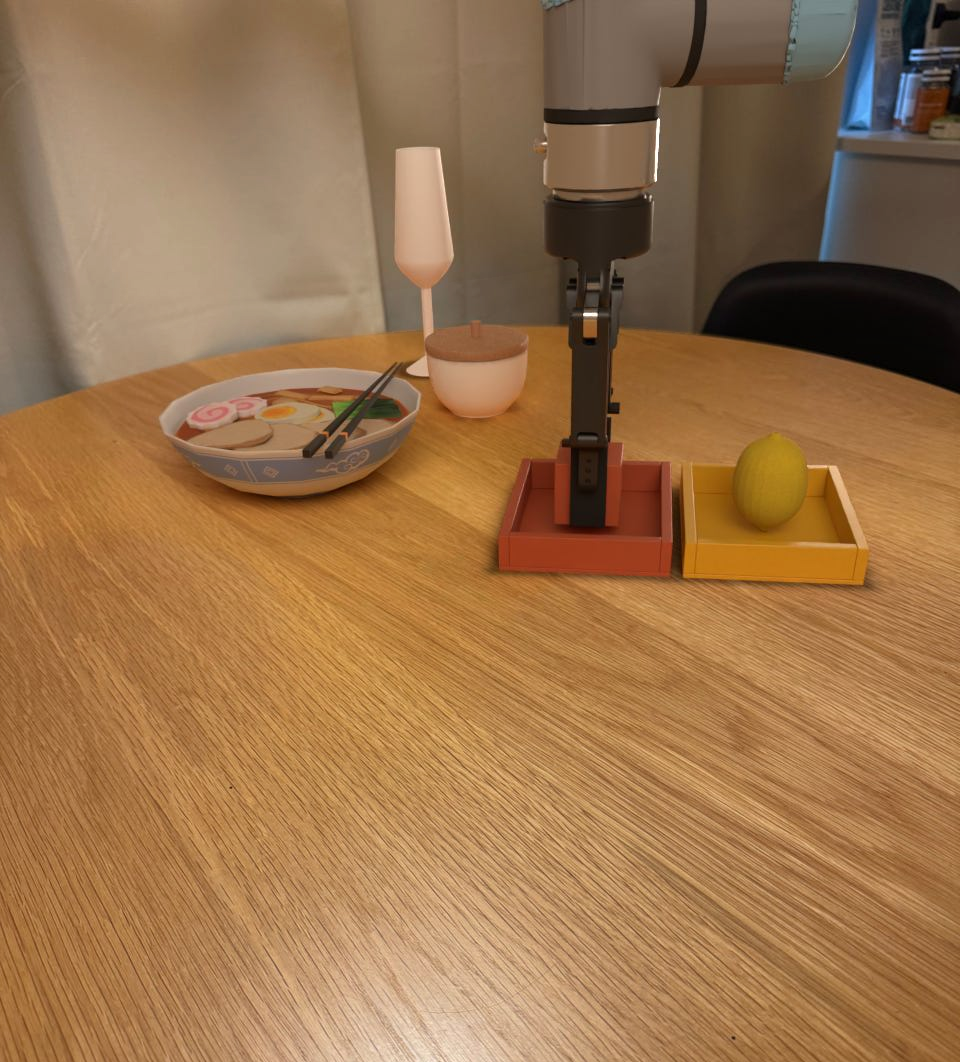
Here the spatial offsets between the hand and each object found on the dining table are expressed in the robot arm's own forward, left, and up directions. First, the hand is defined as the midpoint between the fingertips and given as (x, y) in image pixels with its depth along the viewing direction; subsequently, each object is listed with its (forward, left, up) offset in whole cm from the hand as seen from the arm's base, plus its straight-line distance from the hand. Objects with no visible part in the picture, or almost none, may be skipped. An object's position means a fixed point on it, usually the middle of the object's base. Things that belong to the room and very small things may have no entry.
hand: (589, 508), depth 80 cm
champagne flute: (+21, -43, -2) cm, 48 cm away
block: (0, 0, 0) cm, 0 cm away
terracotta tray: (0, 0, -2) cm, 2 cm away
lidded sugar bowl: (+13, -29, -2) cm, 32 cm away
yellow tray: (-14, 0, -2) cm, 14 cm away
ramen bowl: (+26, -8, -2) cm, 28 cm away
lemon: (-14, 0, -2) cm, 14 cm away
